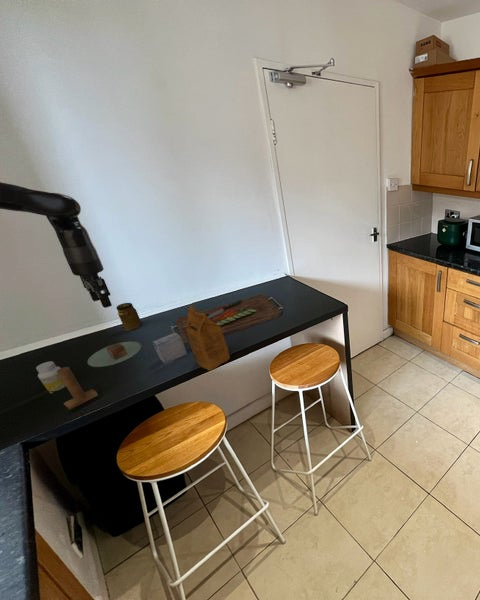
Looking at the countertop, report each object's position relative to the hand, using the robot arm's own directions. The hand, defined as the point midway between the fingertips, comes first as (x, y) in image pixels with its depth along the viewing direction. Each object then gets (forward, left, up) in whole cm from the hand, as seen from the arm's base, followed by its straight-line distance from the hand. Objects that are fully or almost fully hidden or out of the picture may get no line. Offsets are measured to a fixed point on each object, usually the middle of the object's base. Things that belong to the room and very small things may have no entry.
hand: (102, 303), depth 107 cm
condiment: (+13, +22, -24) cm, 35 cm away
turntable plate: (-1, +7, -24) cm, 25 cm away
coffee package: (+15, -29, -24) cm, 40 cm away
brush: (-18, -14, -24) cm, 33 cm away
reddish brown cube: (-1, +4, -23) cm, 23 cm away
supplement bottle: (-19, +2, -24) cm, 31 cm away
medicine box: (+9, -14, -24) cm, 29 cm away
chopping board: (+38, -6, -24) cm, 45 cm away
